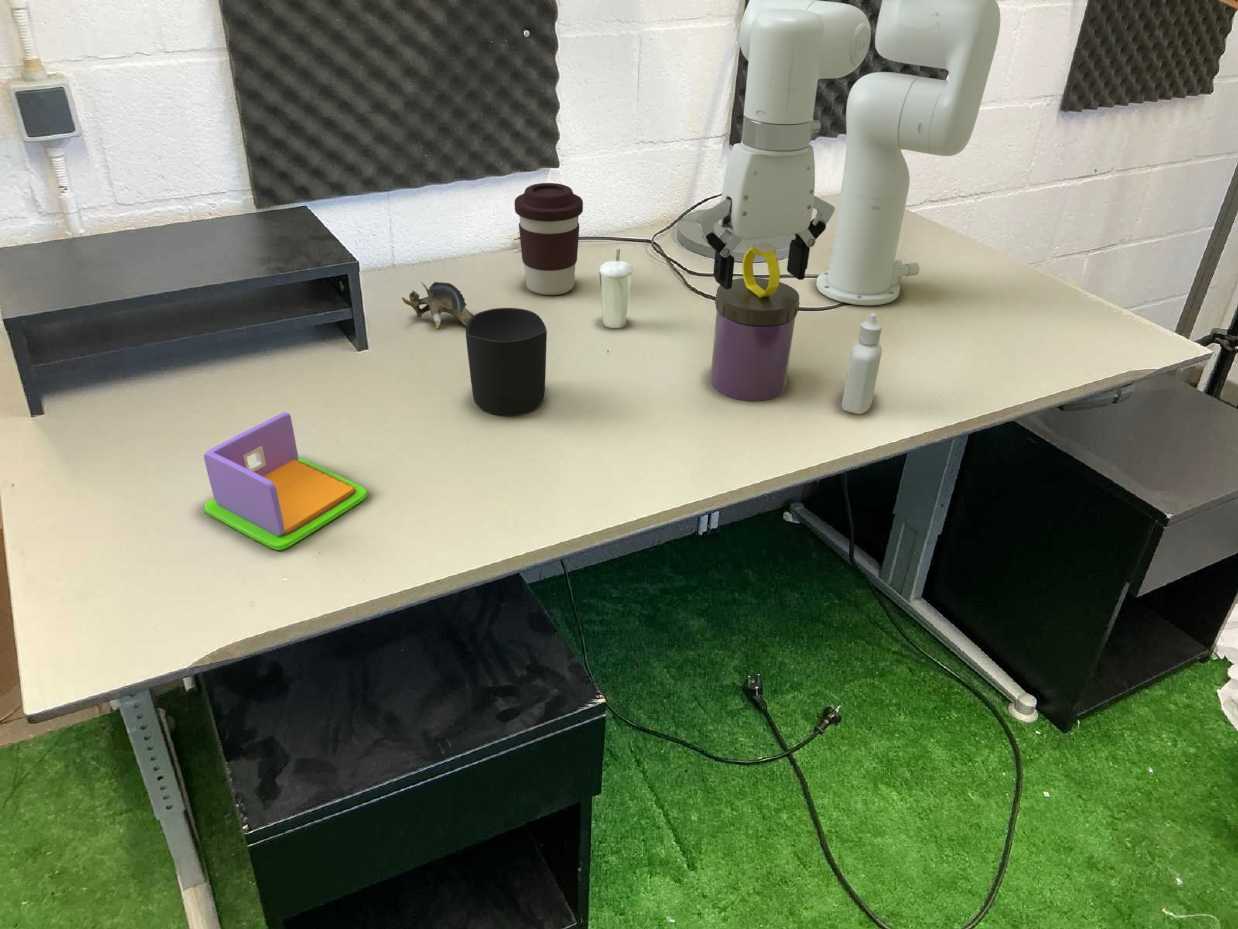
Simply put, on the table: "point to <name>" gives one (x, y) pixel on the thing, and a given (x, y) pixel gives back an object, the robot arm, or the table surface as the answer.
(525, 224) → the coffee cup
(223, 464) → the dollhouse room
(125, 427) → the table surface
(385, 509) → the table surface
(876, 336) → the eye dropper bottle
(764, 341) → the jar
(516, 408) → the pen holder
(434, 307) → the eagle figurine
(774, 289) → the watch
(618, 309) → the milkshake
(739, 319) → the jar lid
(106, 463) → the table surface
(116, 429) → the table surface
